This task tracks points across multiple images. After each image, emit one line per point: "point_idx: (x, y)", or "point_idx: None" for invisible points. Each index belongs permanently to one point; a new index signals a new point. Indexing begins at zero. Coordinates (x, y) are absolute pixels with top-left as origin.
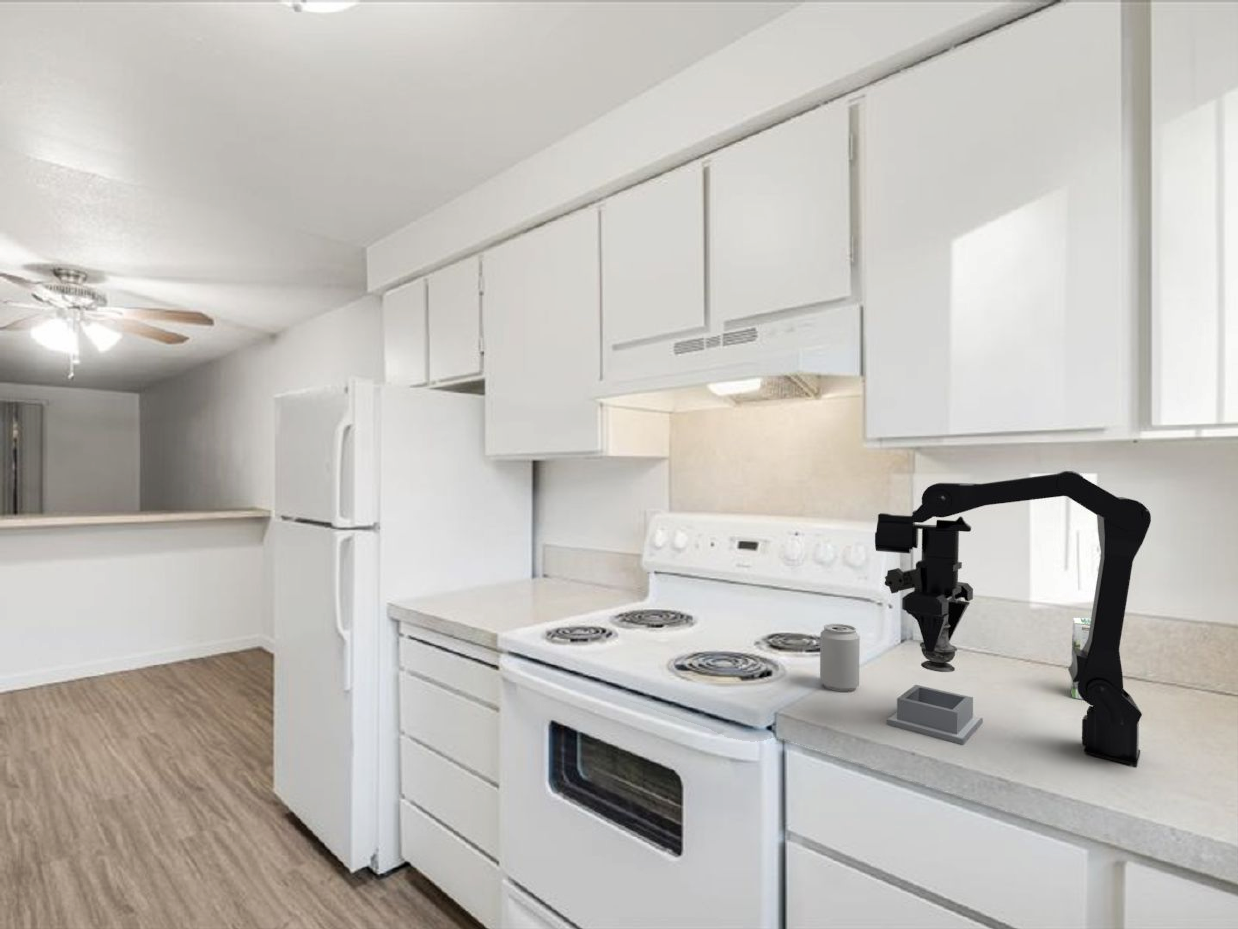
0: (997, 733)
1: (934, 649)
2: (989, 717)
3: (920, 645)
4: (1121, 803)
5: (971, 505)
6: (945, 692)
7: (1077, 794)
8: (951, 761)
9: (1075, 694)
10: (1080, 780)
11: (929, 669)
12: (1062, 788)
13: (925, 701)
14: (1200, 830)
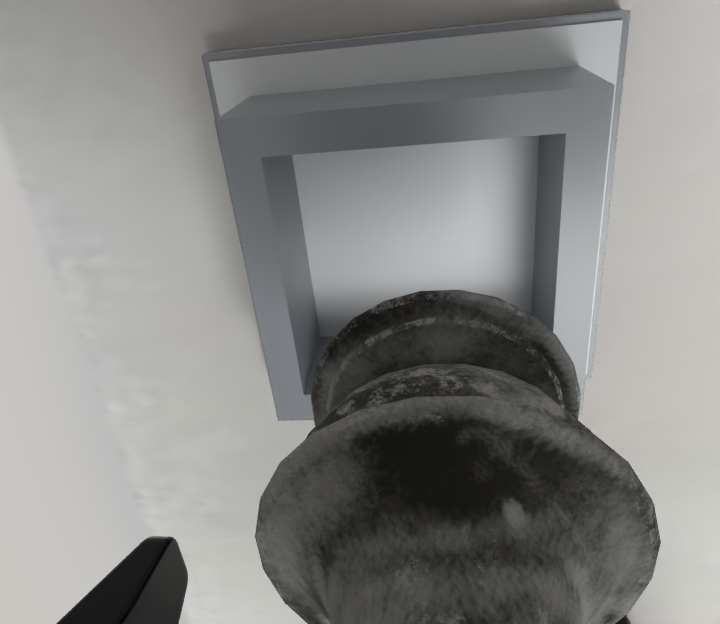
0: None
1: (177, 611)
2: (685, 366)
3: (323, 437)
4: None
5: None
6: (568, 292)
7: (208, 616)
8: (104, 384)
9: None
10: (298, 615)
11: (312, 388)
12: (211, 595)
13: (545, 153)
14: None
